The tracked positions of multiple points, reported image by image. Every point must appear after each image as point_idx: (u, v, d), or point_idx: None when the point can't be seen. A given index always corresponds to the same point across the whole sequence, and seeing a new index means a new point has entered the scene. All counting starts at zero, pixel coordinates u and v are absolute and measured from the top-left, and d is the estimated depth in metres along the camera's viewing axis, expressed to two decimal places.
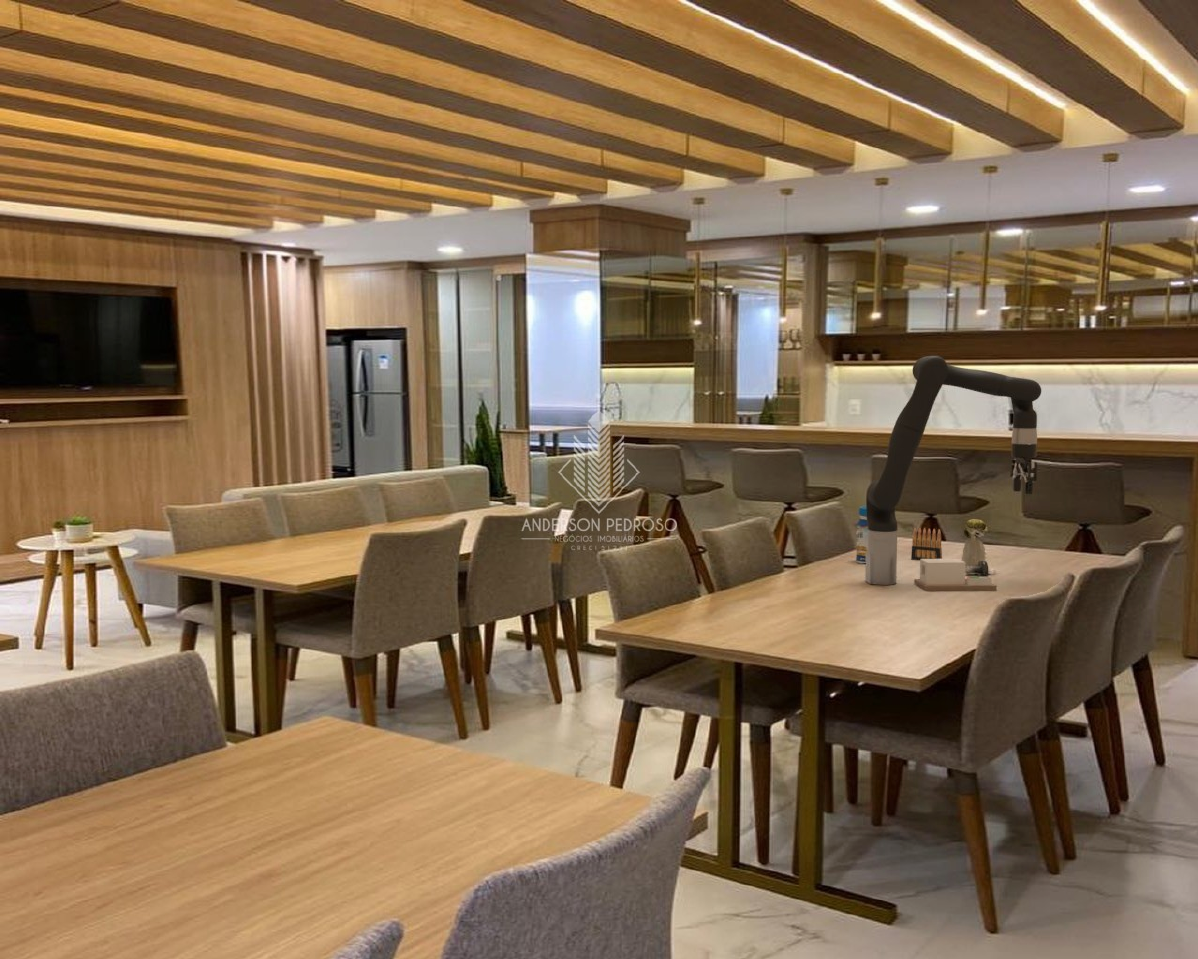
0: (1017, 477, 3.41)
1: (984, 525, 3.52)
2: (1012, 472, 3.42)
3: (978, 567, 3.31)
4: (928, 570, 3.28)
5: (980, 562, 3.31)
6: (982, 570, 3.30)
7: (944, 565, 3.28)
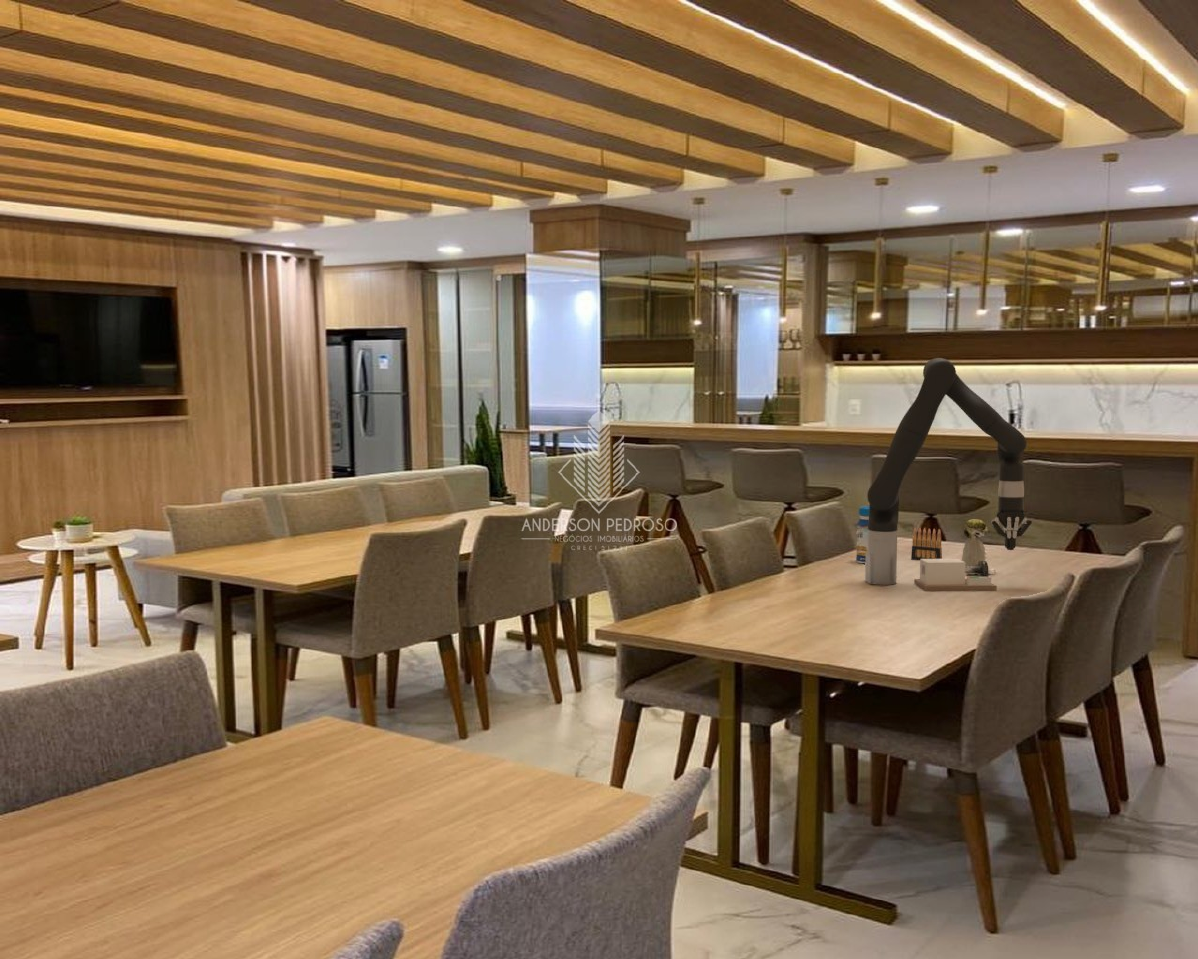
0: None
1: (984, 525, 3.52)
2: (1002, 530, 3.29)
3: (978, 567, 3.31)
4: (928, 570, 3.28)
5: (980, 562, 3.31)
6: (982, 570, 3.30)
7: (944, 565, 3.28)
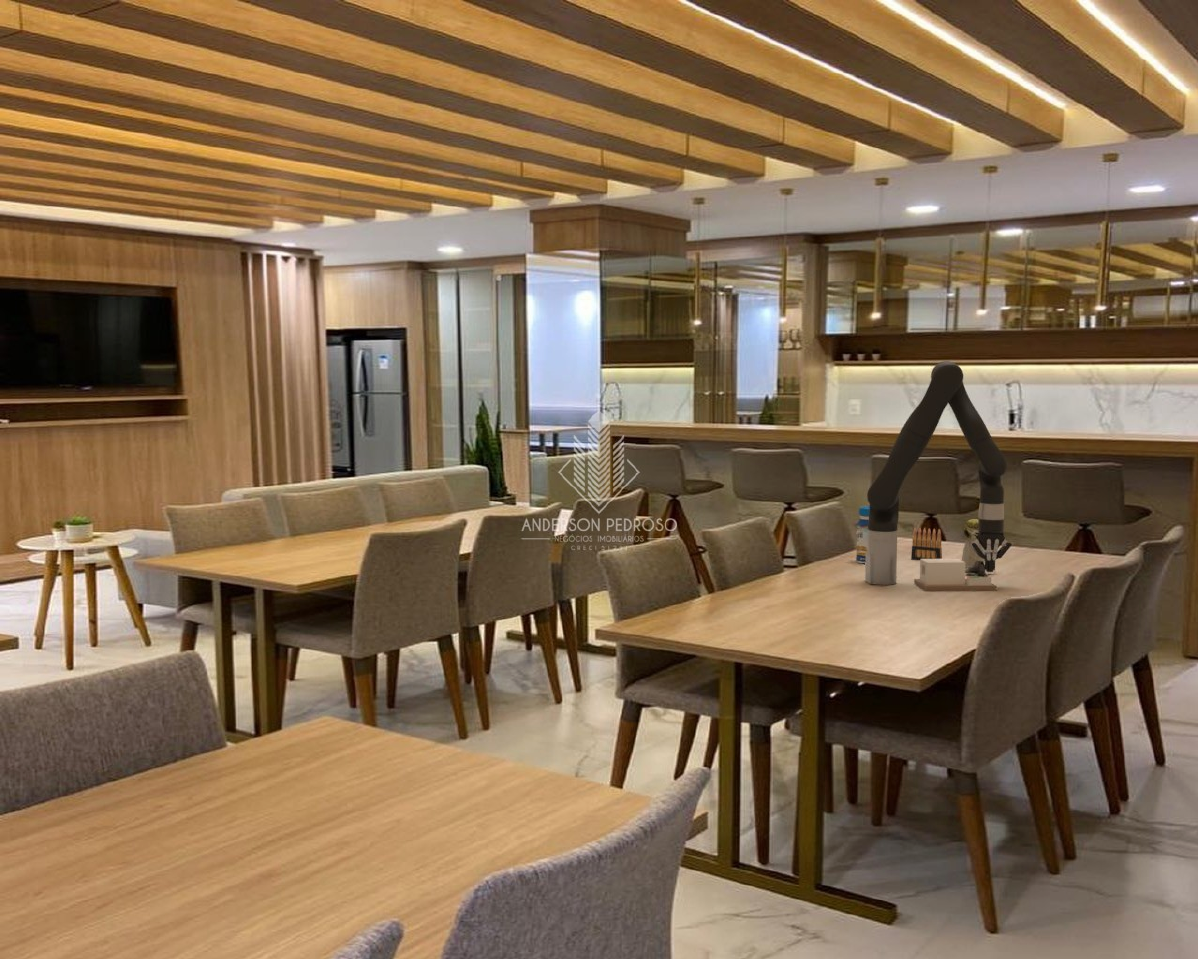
0: None
1: None
2: (982, 552, 3.30)
3: (975, 567, 3.31)
4: (928, 570, 3.28)
5: (977, 562, 3.31)
6: (978, 570, 3.30)
7: (944, 565, 3.28)
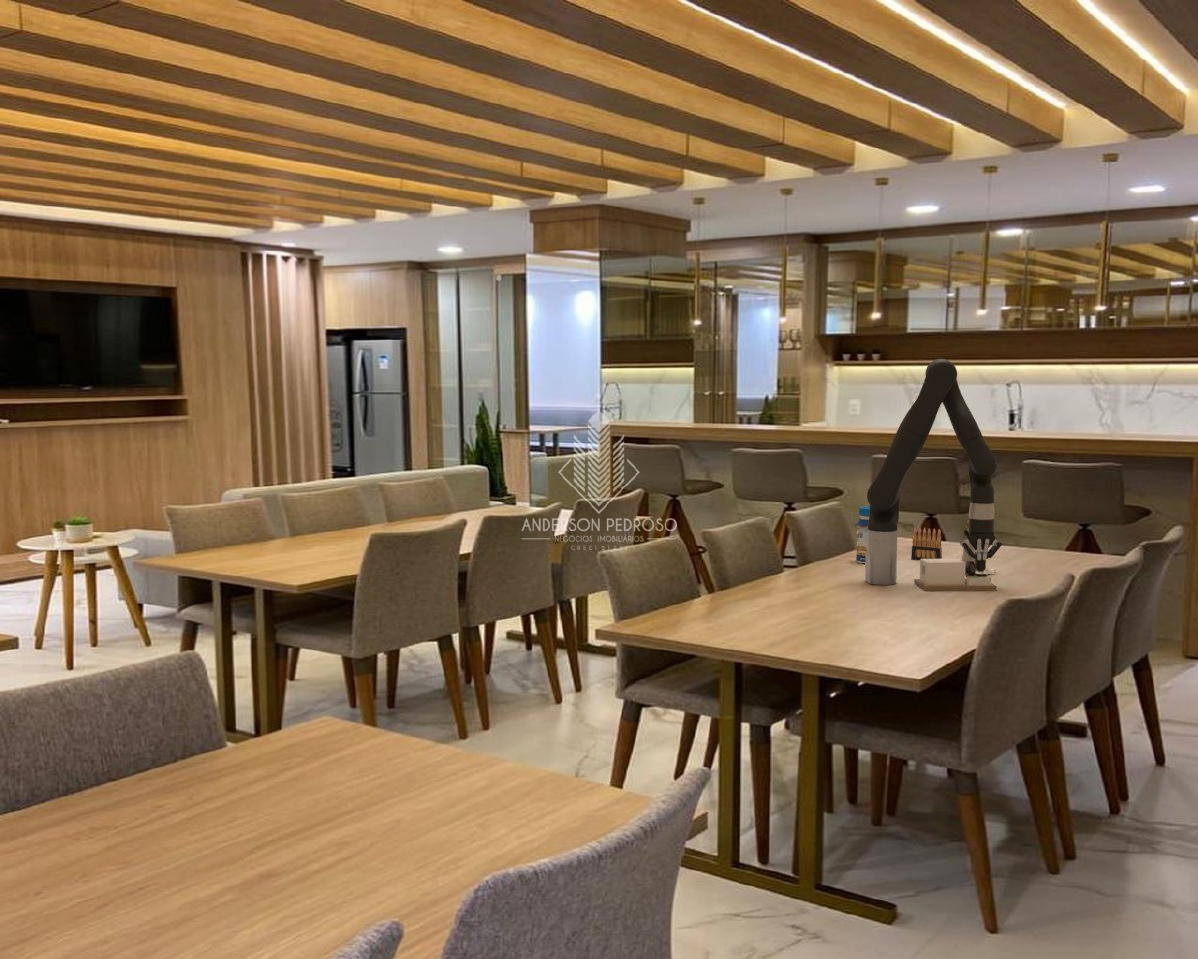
0: None
1: None
2: None
3: (965, 567, 3.31)
4: (928, 570, 3.28)
5: (967, 562, 3.31)
6: (969, 570, 3.30)
7: (944, 565, 3.28)
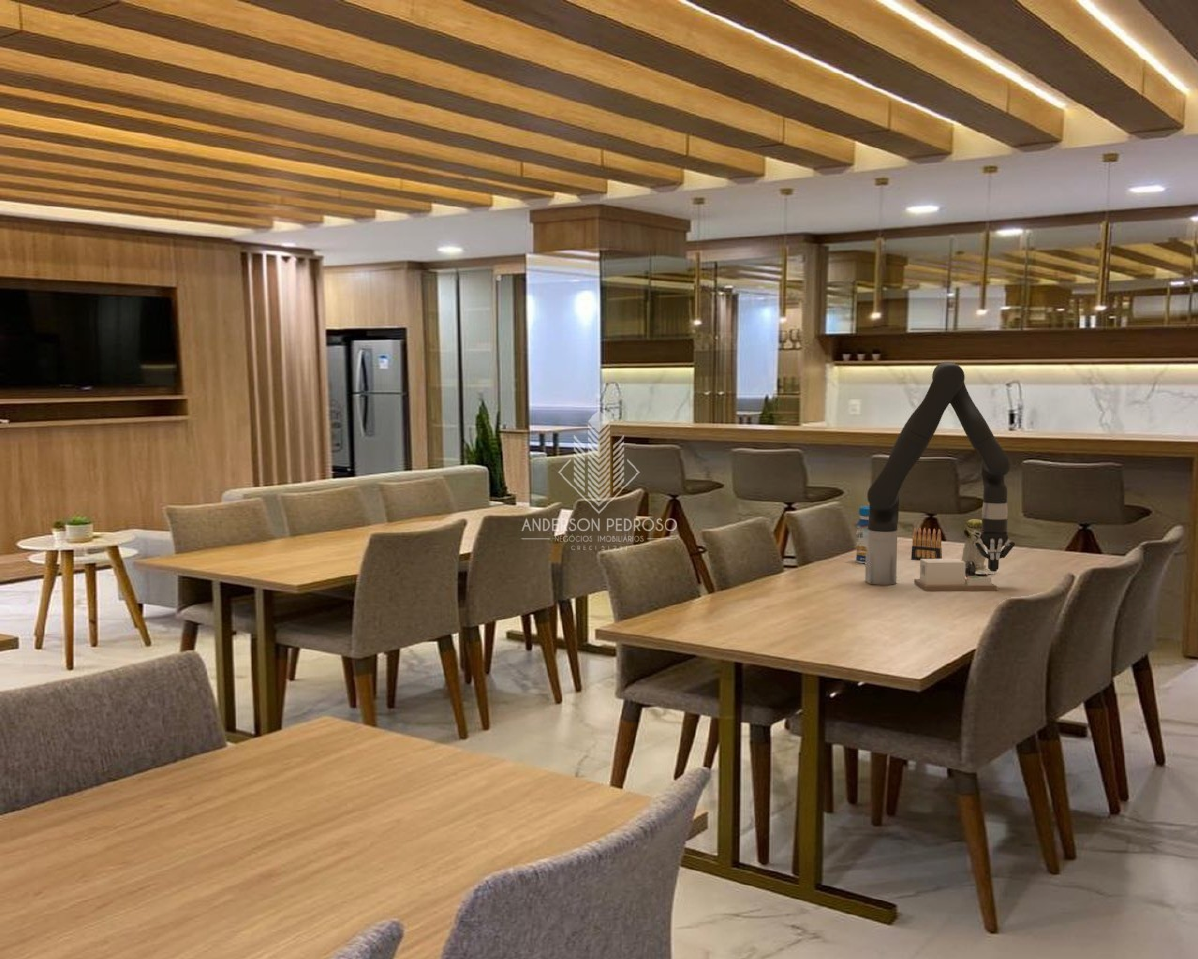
0: None
1: None
2: None
3: (965, 567, 3.31)
4: (928, 570, 3.28)
5: (967, 562, 3.31)
6: (969, 570, 3.30)
7: (944, 565, 3.28)
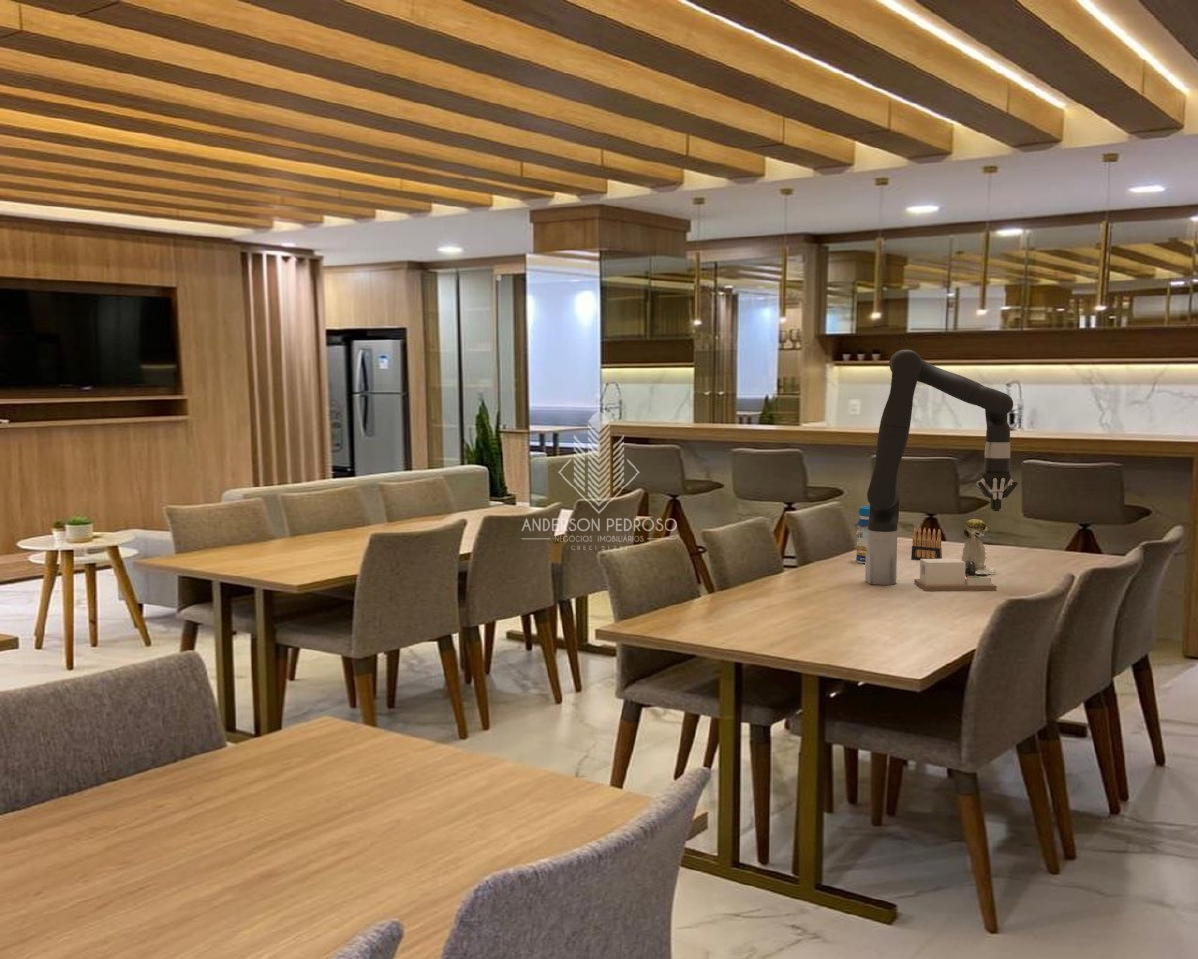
0: None
1: (984, 525, 3.52)
2: (988, 491, 3.30)
3: (965, 567, 3.31)
4: (928, 570, 3.28)
5: (967, 562, 3.31)
6: (969, 570, 3.30)
7: (944, 565, 3.28)
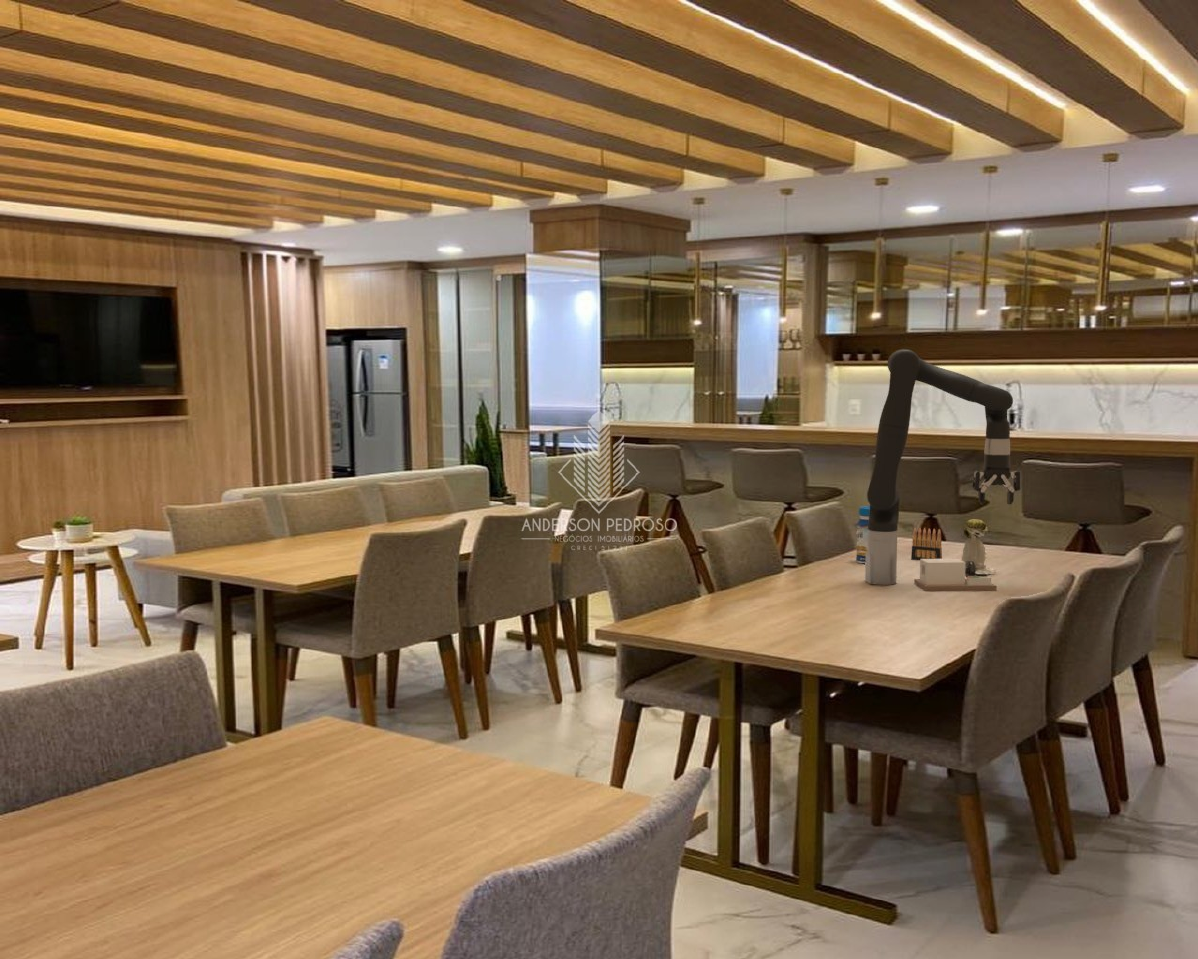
0: None
1: (984, 525, 3.52)
2: (978, 485, 3.30)
3: (965, 567, 3.31)
4: (928, 570, 3.28)
5: (967, 562, 3.31)
6: (969, 570, 3.30)
7: (944, 565, 3.28)
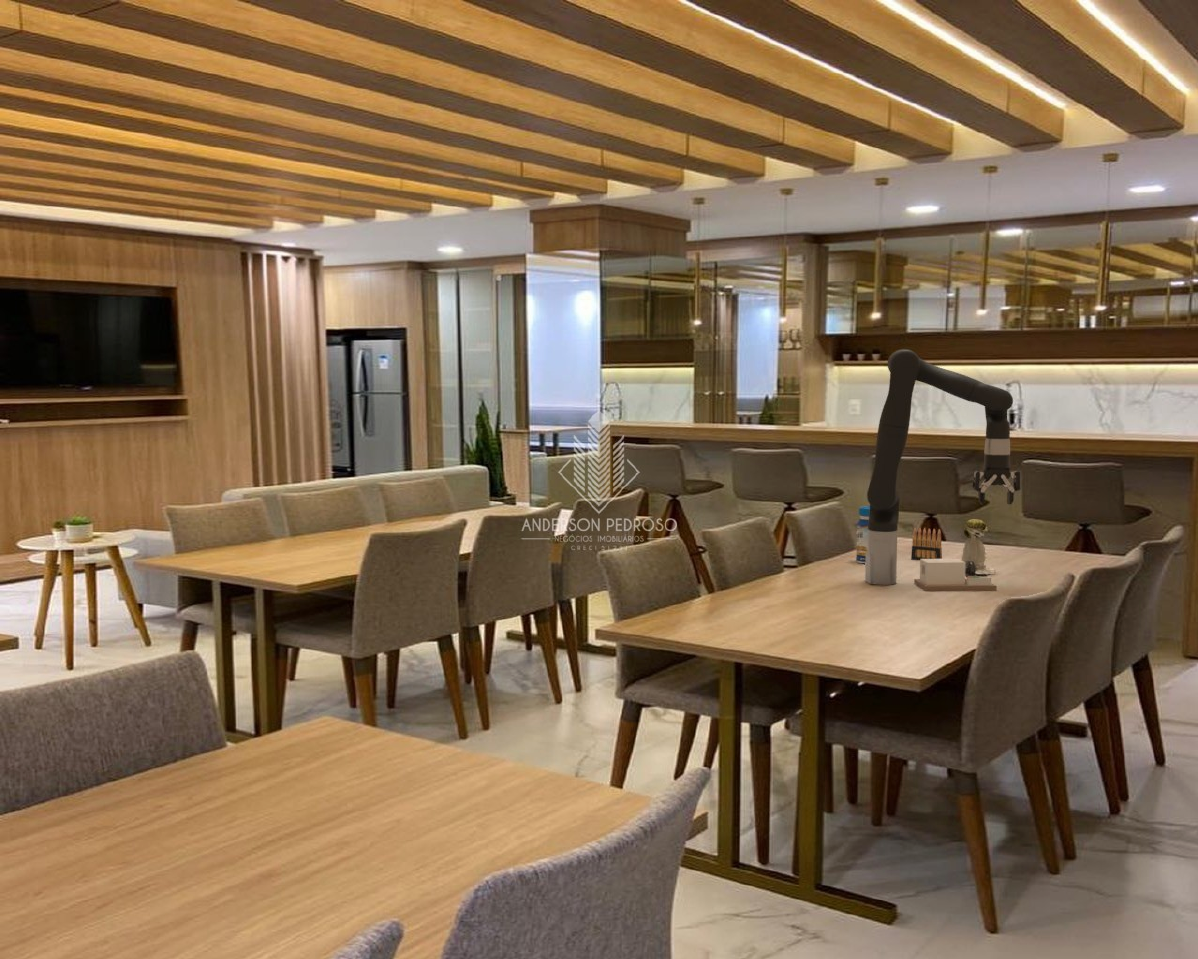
0: None
1: (984, 525, 3.52)
2: (978, 485, 3.30)
3: (965, 567, 3.31)
4: (928, 570, 3.28)
5: (967, 562, 3.31)
6: (969, 570, 3.30)
7: (944, 565, 3.28)
